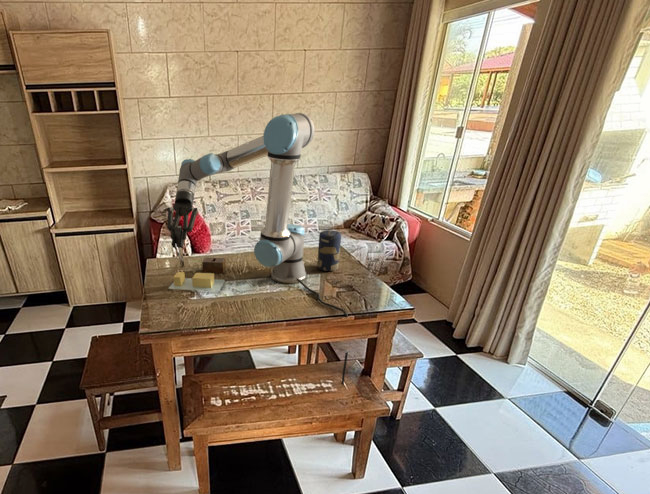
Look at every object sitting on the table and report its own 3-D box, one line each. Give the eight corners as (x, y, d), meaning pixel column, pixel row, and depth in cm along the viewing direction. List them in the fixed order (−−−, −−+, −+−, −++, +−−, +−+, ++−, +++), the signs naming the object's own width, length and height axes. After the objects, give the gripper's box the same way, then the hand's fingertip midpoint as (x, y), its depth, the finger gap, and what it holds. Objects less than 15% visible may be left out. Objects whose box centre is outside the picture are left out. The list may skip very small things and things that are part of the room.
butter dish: (225, 282, 178) (224, 279, 177) (219, 293, 168) (218, 291, 167) (177, 279, 182) (176, 277, 182) (168, 290, 172) (168, 288, 171)
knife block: (225, 270, 190) (225, 258, 187) (223, 275, 185) (222, 262, 182) (206, 269, 192) (205, 257, 189) (203, 274, 187) (202, 261, 184)
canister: (342, 268, 187) (346, 229, 178) (331, 274, 181) (335, 234, 172) (323, 263, 193) (327, 226, 184) (312, 269, 187) (315, 230, 178)
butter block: (214, 282, 176) (213, 273, 174) (211, 287, 170) (210, 278, 168) (196, 281, 177) (195, 272, 175) (192, 286, 172) (192, 278, 170)
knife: (186, 265, 173) (182, 225, 165) (183, 268, 170) (179, 228, 162) (180, 265, 173) (176, 225, 165) (178, 268, 171) (174, 228, 162)
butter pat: (185, 280, 178) (184, 272, 176) (181, 286, 173) (180, 277, 171) (178, 280, 179) (177, 271, 177) (174, 285, 174) (173, 277, 172)
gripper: (205, 200, 171) (197, 251, 165) (170, 200, 174) (161, 250, 168) (200, 189, 164) (193, 242, 158) (164, 189, 167) (155, 241, 161)
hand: (177, 246), depth 163 cm, fingers closed on knife, 2 cm apart
